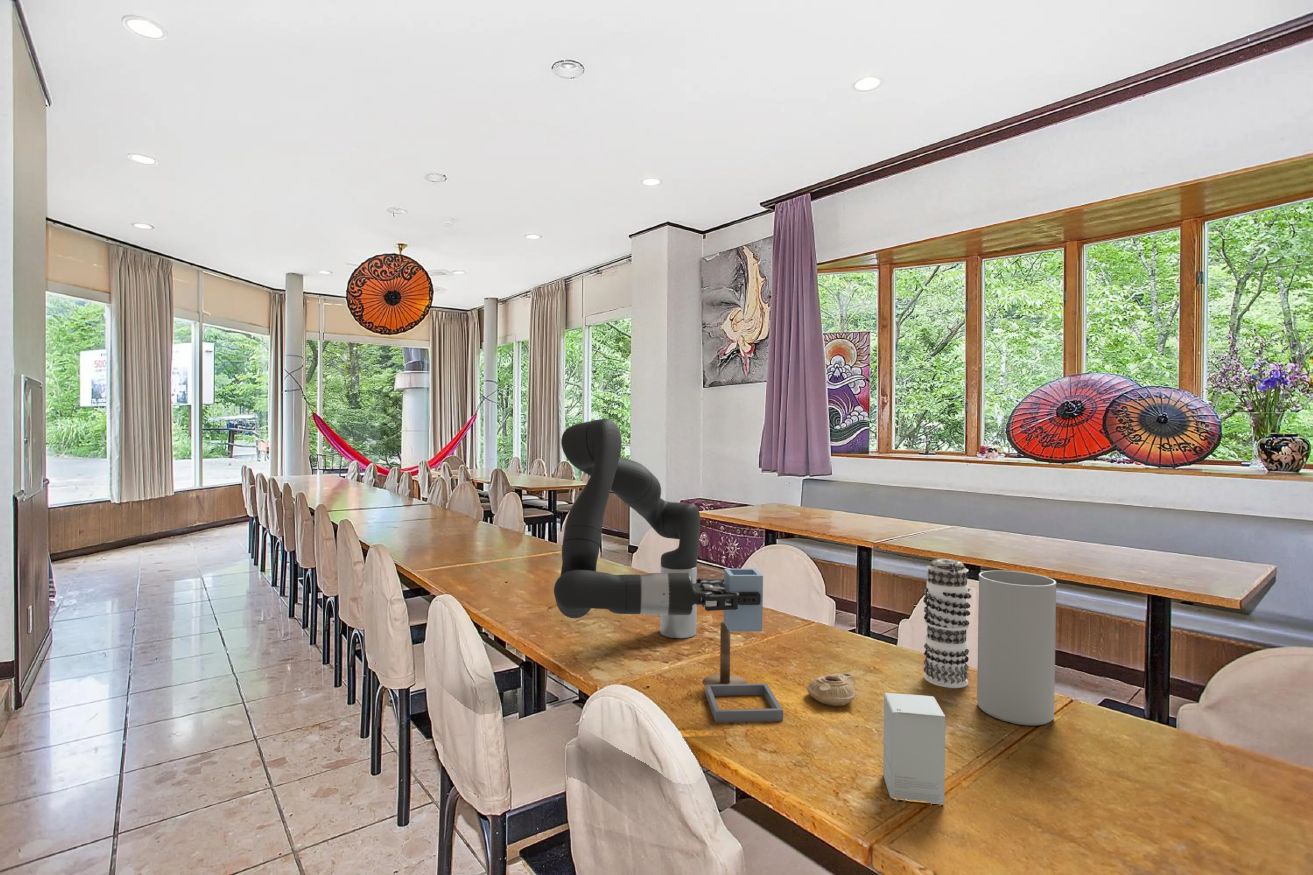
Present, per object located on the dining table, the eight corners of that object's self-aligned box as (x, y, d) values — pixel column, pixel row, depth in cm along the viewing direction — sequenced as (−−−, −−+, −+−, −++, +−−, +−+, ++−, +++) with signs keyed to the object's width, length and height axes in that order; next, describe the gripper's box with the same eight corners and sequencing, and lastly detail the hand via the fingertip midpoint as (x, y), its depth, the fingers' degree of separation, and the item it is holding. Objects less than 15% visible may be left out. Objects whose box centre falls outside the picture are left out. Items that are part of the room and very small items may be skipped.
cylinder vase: (1026, 733, 112) (1028, 588, 112) (962, 705, 123) (964, 574, 123) (1069, 718, 118) (1071, 581, 117) (1004, 693, 129) (1006, 568, 128)
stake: (699, 678, 135) (700, 616, 135) (742, 677, 136) (743, 616, 136) (706, 696, 126) (706, 630, 126) (751, 695, 127) (752, 629, 127)
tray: (705, 698, 125) (705, 684, 125) (766, 697, 126) (766, 683, 126) (715, 727, 113) (715, 711, 113) (783, 725, 114) (783, 710, 114)
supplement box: (945, 807, 90) (947, 716, 90) (889, 800, 91) (890, 711, 91) (934, 779, 97) (935, 695, 97) (882, 773, 98) (883, 690, 98)
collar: (723, 621, 122) (724, 568, 122) (754, 621, 122) (755, 568, 122) (729, 631, 116) (729, 575, 116) (762, 631, 116) (763, 575, 116)
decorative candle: (976, 679, 136) (978, 560, 135) (961, 692, 129) (963, 567, 129) (931, 668, 142) (933, 554, 142) (915, 680, 135) (917, 560, 135)
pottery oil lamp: (871, 695, 127) (877, 670, 123) (836, 732, 120) (841, 706, 116) (833, 668, 132) (837, 643, 129) (797, 702, 125) (801, 677, 122)
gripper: (668, 582, 111) (765, 582, 112) (662, 565, 125) (748, 565, 126) (668, 626, 111) (765, 625, 112) (662, 603, 125) (747, 603, 126)
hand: (755, 593), depth 119 cm, fingers closed on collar, 6 cm apart
